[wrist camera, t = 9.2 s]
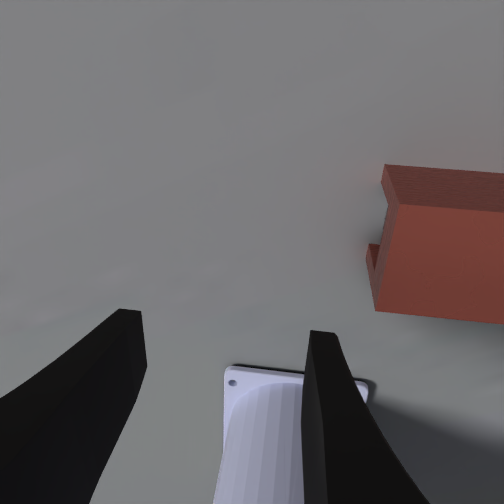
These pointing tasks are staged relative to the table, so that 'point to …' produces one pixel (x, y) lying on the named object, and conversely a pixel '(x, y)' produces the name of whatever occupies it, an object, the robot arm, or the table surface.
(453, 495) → the table surface
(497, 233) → the red notched block
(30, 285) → the table surface
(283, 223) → the table surface
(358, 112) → the table surface
